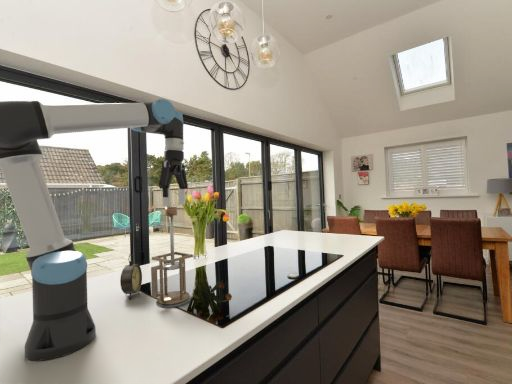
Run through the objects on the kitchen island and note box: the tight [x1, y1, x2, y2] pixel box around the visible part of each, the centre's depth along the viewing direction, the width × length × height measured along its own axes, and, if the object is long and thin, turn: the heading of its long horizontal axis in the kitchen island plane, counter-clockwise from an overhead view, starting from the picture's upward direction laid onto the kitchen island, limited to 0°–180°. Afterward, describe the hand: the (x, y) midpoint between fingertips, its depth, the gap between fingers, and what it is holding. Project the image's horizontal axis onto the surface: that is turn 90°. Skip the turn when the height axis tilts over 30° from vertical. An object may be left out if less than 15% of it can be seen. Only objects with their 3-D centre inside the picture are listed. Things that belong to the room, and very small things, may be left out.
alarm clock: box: [119, 253, 143, 300], centre depth 103 cm, size 11×5×16 cm, turn 5°
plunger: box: [163, 206, 184, 271], centre depth 97 cm, size 8×8×22 cm
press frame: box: [150, 251, 194, 309], centre depth 96 cm, size 14×12×16 cm
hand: (174, 205), depth 105 cm, fingers open, 11 cm apart
